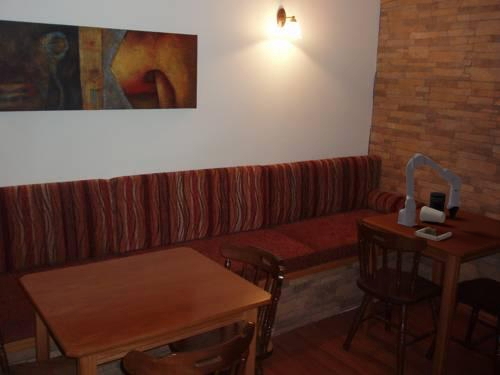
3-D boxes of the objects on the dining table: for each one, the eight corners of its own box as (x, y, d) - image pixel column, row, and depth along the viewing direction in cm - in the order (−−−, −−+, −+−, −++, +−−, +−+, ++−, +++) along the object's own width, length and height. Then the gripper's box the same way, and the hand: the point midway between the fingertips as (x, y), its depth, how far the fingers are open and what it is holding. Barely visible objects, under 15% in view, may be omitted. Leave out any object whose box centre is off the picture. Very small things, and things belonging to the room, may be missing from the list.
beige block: (424, 236, 293) (425, 228, 292) (428, 234, 296) (429, 227, 295) (431, 238, 290) (432, 230, 289) (435, 236, 292) (436, 229, 292)
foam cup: (439, 227, 314) (419, 222, 323) (446, 222, 320) (426, 218, 329) (440, 212, 311) (419, 208, 320) (446, 208, 317) (426, 204, 326)
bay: (414, 235, 294) (414, 231, 294) (428, 230, 305) (428, 226, 304) (437, 241, 284) (437, 237, 283) (451, 235, 295) (451, 232, 294)
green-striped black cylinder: (427, 213, 344) (429, 191, 341) (442, 214, 342) (444, 192, 339) (429, 217, 334) (431, 194, 331) (444, 218, 332) (447, 195, 329)
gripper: (455, 199, 297) (452, 221, 300) (466, 196, 307) (464, 217, 310) (444, 197, 302) (441, 219, 305) (455, 193, 312) (453, 215, 315)
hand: (452, 218), depth 308 cm, fingers closed
